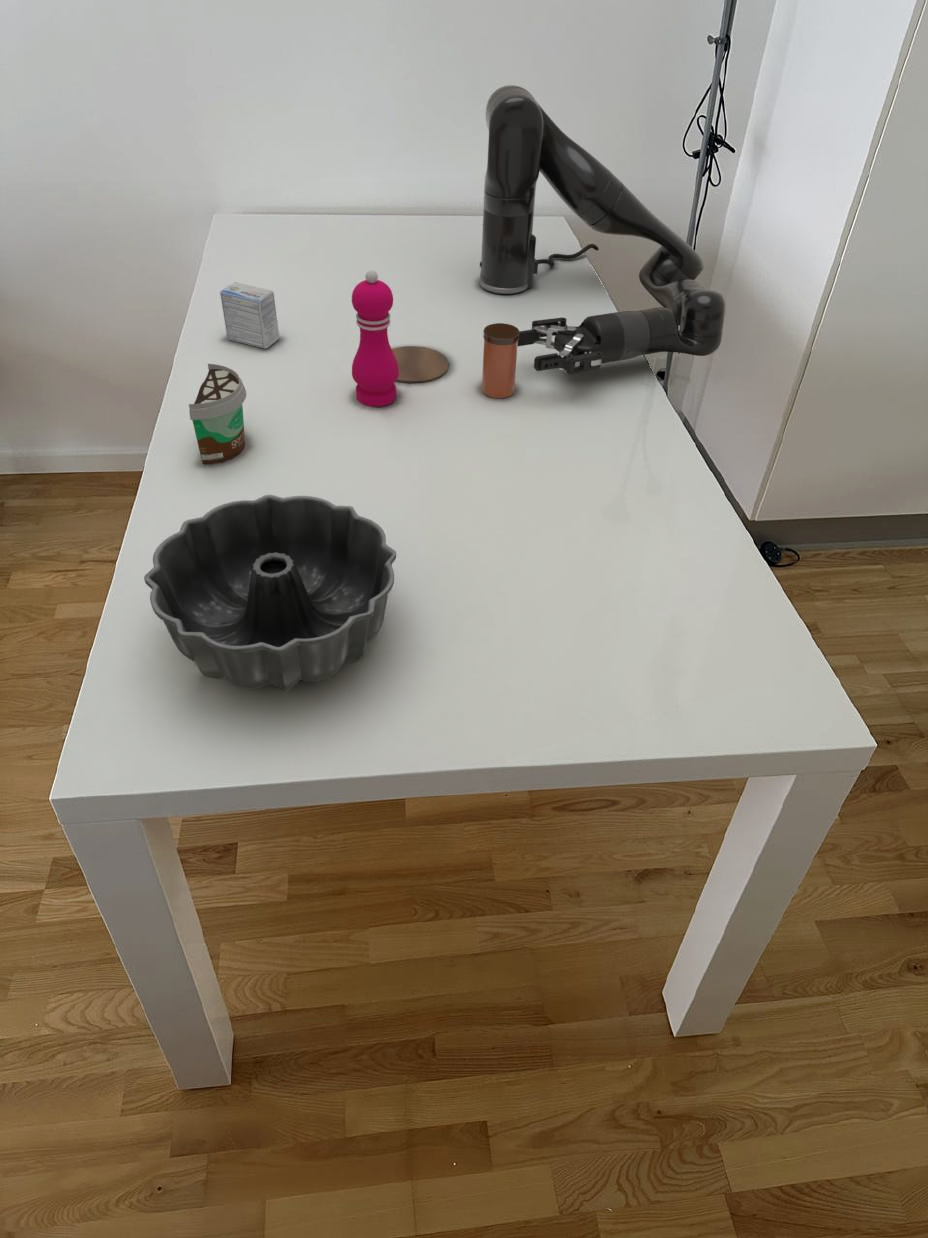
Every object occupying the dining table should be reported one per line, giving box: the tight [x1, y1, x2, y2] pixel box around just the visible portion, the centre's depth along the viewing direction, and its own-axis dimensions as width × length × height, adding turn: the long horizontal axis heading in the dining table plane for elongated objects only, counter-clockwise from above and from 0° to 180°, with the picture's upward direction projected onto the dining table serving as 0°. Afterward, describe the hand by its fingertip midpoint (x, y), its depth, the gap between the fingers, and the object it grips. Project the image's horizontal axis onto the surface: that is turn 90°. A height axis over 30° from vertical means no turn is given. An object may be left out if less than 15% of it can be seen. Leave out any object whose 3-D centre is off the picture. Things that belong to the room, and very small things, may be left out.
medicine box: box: [219, 281, 280, 350], centre depth 154 cm, size 8×4×9 cm, turn 65°
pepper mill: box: [351, 269, 399, 408], centre depth 138 cm, size 7×7×20 cm
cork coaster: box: [391, 345, 450, 384], centre depth 152 cm, size 12×12×1 cm
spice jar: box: [481, 322, 520, 399], centre depth 144 cm, size 6×6×10 cm
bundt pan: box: [143, 494, 397, 692], centre depth 102 cm, size 26×26×10 cm
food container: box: [188, 363, 247, 465], centre depth 129 cm, size 12×6×10 cm, turn 179°
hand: (523, 351), depth 144 cm, fingers open, 8 cm apart
